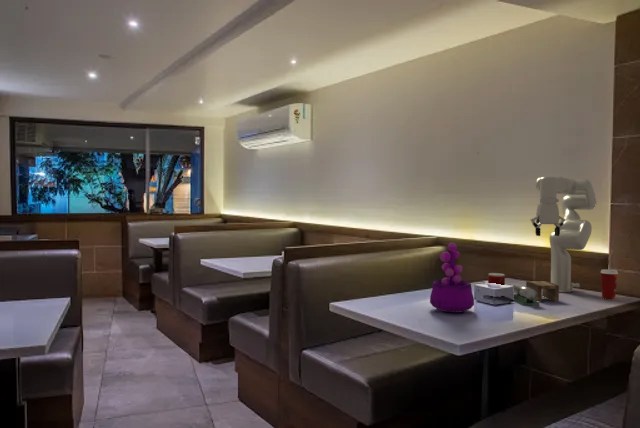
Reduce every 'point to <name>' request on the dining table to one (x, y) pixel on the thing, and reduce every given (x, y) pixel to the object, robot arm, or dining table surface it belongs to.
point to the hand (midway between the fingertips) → (547, 235)
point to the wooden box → (544, 289)
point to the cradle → (524, 300)
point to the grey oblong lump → (525, 292)
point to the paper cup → (608, 283)
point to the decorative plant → (451, 286)
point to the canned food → (496, 278)
